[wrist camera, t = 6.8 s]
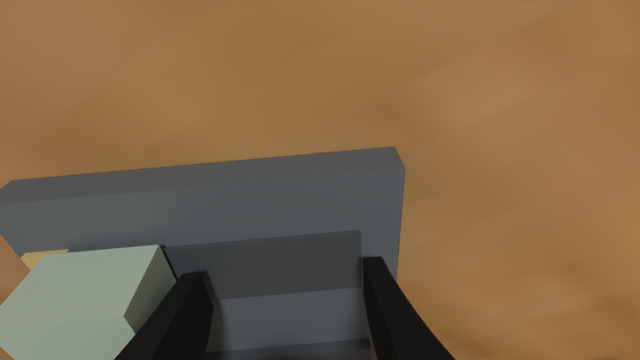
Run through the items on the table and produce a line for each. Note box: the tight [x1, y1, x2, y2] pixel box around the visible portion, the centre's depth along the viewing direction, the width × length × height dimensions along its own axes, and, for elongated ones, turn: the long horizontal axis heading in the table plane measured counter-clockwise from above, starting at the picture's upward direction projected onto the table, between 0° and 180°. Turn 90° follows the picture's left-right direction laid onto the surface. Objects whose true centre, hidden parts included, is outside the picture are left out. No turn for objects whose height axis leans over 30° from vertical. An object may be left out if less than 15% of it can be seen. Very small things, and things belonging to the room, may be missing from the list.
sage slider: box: [0, 245, 176, 360], centre depth 12 cm, size 4×4×3 cm
